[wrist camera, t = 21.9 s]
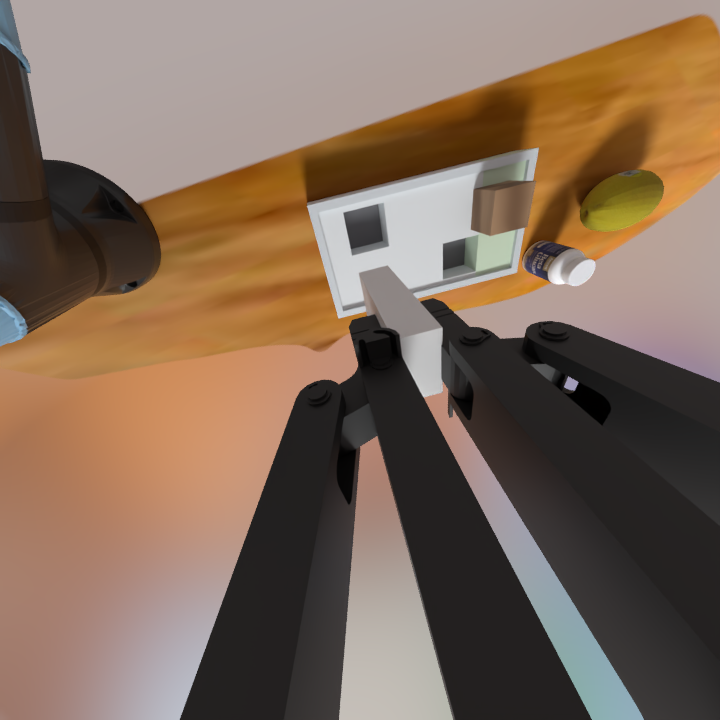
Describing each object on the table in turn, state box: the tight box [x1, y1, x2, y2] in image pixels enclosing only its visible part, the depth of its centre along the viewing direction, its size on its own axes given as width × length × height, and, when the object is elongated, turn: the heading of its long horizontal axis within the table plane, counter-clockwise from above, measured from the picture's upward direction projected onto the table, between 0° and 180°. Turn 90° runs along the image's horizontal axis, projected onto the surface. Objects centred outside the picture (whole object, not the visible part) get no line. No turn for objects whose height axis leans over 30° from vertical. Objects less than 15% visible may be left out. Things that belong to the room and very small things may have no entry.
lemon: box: [580, 170, 664, 232], centre depth 38 cm, size 11×8×8 cm
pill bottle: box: [522, 241, 596, 286], centre depth 42 cm, size 5×5×10 cm
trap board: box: [307, 148, 539, 318], centre depth 38 cm, size 30×16×5 cm, turn 101°
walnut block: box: [471, 180, 536, 236], centre depth 34 cm, size 5×5×5 cm
